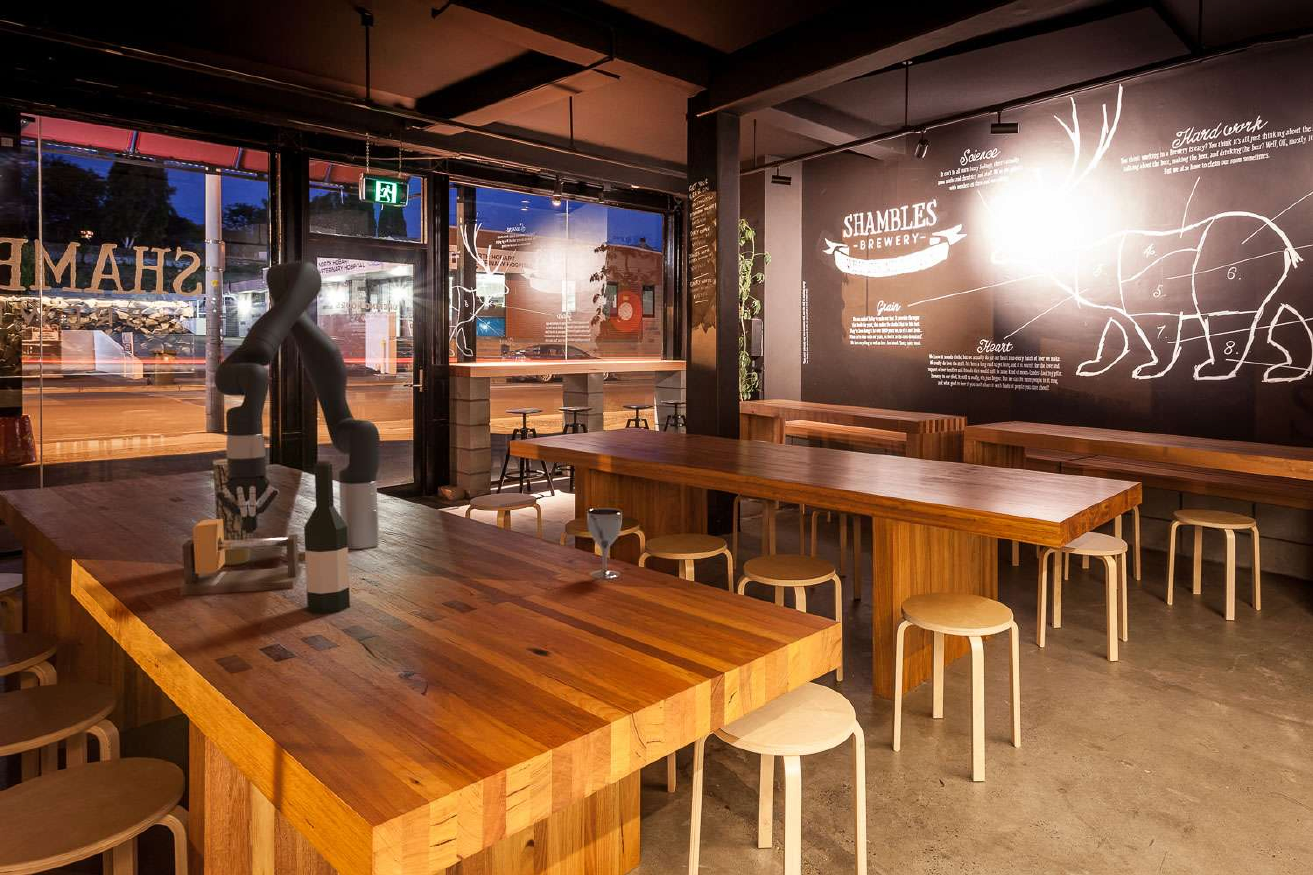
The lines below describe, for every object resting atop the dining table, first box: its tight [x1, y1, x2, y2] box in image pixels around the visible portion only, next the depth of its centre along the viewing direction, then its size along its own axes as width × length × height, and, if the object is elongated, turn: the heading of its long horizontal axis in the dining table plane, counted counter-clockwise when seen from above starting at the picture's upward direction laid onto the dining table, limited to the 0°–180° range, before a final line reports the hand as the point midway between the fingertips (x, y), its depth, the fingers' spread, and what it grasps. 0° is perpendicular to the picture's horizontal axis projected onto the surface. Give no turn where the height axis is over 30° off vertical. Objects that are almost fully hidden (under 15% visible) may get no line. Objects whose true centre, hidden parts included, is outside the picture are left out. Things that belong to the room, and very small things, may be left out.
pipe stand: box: [179, 534, 302, 596], centre depth 181 cm, size 22×12×10 cm, turn 105°
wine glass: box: [586, 507, 623, 580], centre depth 191 cm, size 8×8×15 cm
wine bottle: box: [303, 459, 351, 615], centre depth 164 cm, size 8×8×30 cm
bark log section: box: [212, 458, 251, 566], centre depth 198 cm, size 7×7×25 cm
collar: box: [192, 518, 225, 574], centre depth 179 cm, size 4×8×10 cm, turn 15°
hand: (250, 532), depth 181 cm, fingers closed
